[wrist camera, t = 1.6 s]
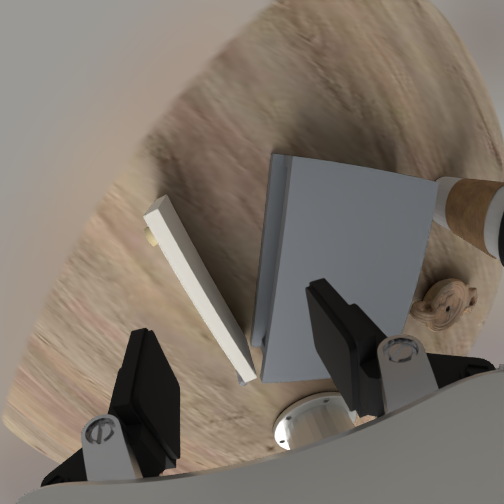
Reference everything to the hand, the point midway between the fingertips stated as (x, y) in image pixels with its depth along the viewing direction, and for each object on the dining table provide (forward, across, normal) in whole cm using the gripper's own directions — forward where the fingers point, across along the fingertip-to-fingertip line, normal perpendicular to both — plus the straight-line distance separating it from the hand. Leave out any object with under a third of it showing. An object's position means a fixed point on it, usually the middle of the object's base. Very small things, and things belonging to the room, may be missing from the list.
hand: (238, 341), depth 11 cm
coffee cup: (+20, -27, +4) cm, 34 cm away
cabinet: (+20, -10, +7) cm, 23 cm away
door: (+19, +3, +5) cm, 20 cm away
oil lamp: (+20, -26, +18) cm, 37 cm away
